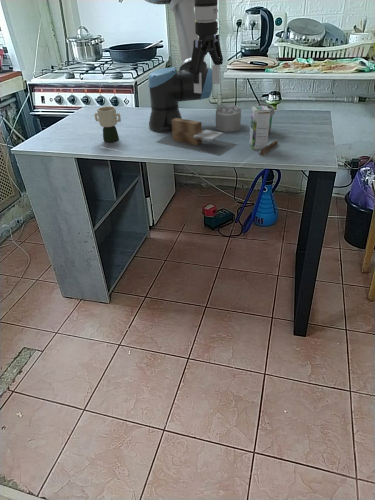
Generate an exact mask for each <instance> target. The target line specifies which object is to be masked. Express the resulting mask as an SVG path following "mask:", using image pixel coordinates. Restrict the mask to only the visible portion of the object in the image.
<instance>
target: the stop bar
mask: <svg viewBox="0 0 375 500" xmlns="http://www.w3.org/2000/svg"><path fill="white" fill-rule="evenodd" d="M278 144H279V141H278V140H273V141H272V142H271V143H270V144H269V143H268V145H267V147H265V148H264V149H262V150H259V151H260V154H259V155H260V156H265V155H266V154H267V153H268V152H270V151H272V150H273V149H274V148H275V147H277V146H278ZM264 154H265V155H264Z"/></svg>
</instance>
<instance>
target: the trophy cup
mask: <svg viewBox="0 0 375 500" xmlns="http://www.w3.org/2000/svg"><path fill="white" fill-rule="evenodd" d="M93 115H94V120H95V122H98V123H99V125H100V127H101V128H102V137H103V138H102V140H103V141H104V142H105V143H113V142H116V141H118V140H119V139H120V137H119V133H118V131H117V127H116V125H118V123H121V121H122V118H121V114H120V113H117V110H116V107H115V106H113V105H112V106H111V105H109V106H108V105H107V106H101V107H98V108H97V109H96V112H94V114H93Z"/></svg>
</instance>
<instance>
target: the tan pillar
mask: <svg viewBox="0 0 375 500" xmlns="http://www.w3.org/2000/svg"><path fill="white" fill-rule="evenodd" d="M171 122H172V132H171V134H172V136H173V140H175V141H180V142H185V143H190V144H195V145H199V144H200V143H202V140H207V141H213V140H217V139H218V138H220V137H222V136H223V135H224V132H223V131H215V130H210V129H204V130H202V121H198V120H191V119H184V118H182V119H180V118H174V119H172V120H171Z"/></svg>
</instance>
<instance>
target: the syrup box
mask: <svg viewBox="0 0 375 500" xmlns="http://www.w3.org/2000/svg"><path fill="white" fill-rule="evenodd" d="M250 110H251V111H250V112H251V113H250V114H251V115H250V128H249V144H248V145H249V147H250V148H251V150H252V151H254V150H259V151H261V150H262V149H264V148H265V147H267V146H268V145H269V143H268V142H269V135H268V133H269V122H270V110H269V108H268V107H267V106H260V105H256V106H255V105H254V106H251V109H250Z"/></svg>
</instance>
